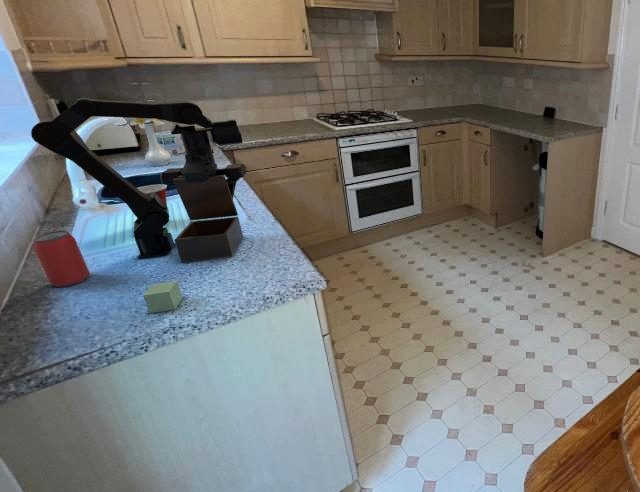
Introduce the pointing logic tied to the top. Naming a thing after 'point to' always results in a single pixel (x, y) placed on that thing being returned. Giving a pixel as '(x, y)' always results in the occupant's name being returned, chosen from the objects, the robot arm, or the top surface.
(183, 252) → the storage box
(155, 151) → the flower vase
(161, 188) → the plastic cup
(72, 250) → the beer can
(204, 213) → the box lid
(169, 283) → the block
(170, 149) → the light bulb box
